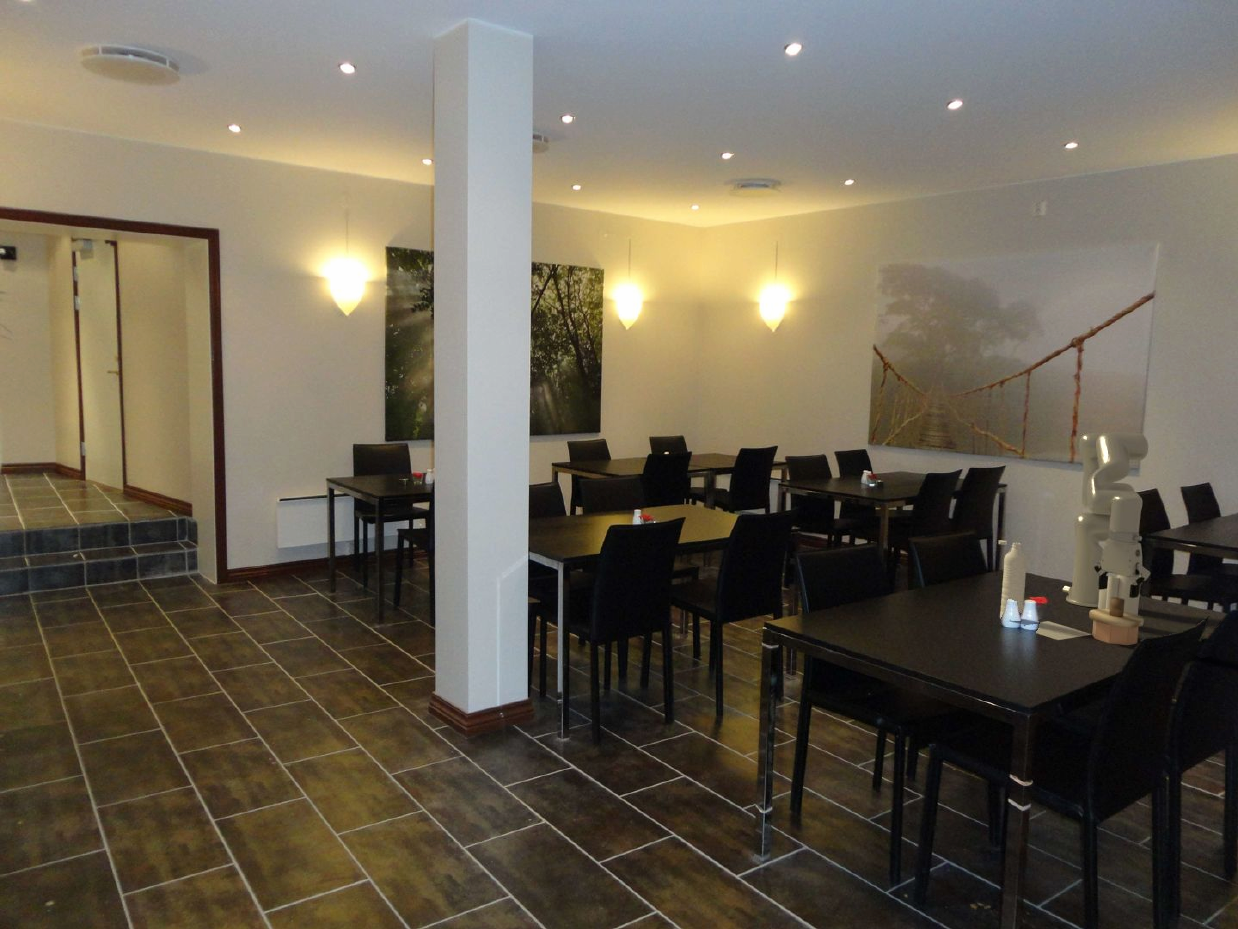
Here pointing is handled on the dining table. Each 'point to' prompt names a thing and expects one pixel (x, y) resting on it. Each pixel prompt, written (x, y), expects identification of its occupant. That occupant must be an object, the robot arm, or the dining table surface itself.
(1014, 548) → the water bottle
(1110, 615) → the lid
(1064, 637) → the mat
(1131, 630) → the bowl
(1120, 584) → the candle
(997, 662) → the dining table surface
